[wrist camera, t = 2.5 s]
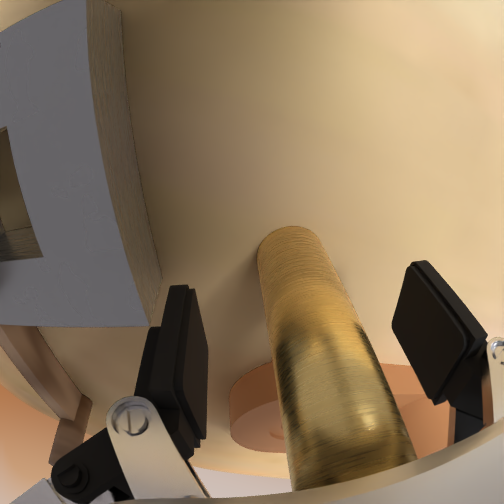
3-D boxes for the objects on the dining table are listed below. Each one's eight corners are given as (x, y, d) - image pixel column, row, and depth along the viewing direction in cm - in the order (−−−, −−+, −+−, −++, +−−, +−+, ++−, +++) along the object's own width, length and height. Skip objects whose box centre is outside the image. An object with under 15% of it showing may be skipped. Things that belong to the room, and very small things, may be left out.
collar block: (-62, 103, 7) (-102, 117, 4) (121, 10, 7) (86, -9, 5) (-8, 287, 13) (-33, 321, 10) (162, 277, 13) (149, 325, 10)
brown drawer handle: (-20, 249, 11) (-82, 322, 6) (1, 245, 11) (-66, 324, 6) (75, 405, 18) (58, 470, 13) (96, 407, 19) (81, 476, 13)
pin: (254, 229, 12) (302, 513, 3) (324, 223, 12) (448, 469, 4) (258, 286, 13) (293, 528, 5) (320, 280, 14) (399, 501, 5)
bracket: (455, 366, 20) (489, 429, 14) (397, 421, 24) (418, 479, 18) (256, 342, 16) (271, 465, 10) (214, 414, 19) (215, 502, 14)
